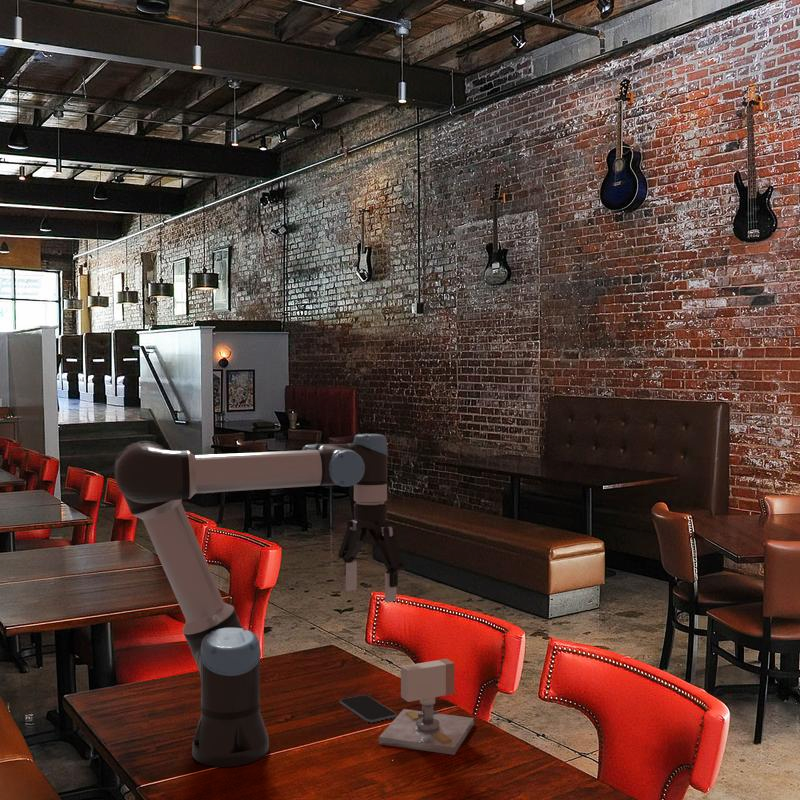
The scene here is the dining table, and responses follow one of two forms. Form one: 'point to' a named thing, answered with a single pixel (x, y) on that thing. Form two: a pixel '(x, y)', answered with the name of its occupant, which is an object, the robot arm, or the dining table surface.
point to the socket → (427, 731)
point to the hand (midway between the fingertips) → (370, 595)
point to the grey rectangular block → (427, 681)
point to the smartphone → (367, 708)
